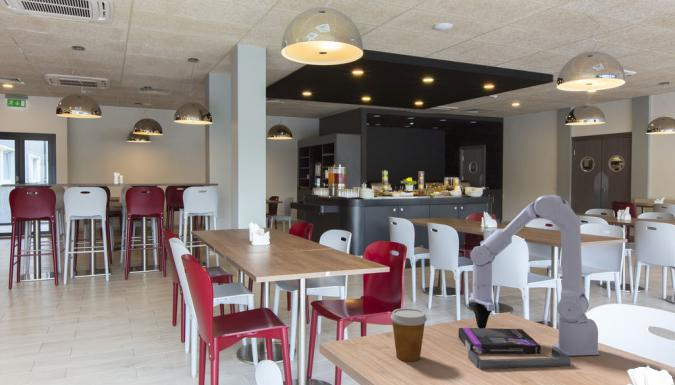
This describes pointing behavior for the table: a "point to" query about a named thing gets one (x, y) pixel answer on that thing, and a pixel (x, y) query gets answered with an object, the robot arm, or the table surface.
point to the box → (498, 341)
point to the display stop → (522, 361)
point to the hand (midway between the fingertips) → (481, 327)
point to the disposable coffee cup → (408, 333)
